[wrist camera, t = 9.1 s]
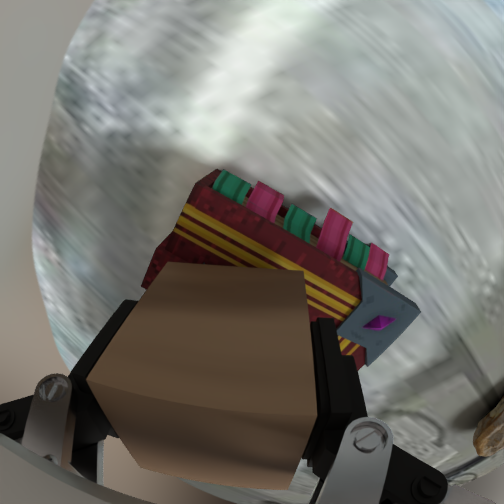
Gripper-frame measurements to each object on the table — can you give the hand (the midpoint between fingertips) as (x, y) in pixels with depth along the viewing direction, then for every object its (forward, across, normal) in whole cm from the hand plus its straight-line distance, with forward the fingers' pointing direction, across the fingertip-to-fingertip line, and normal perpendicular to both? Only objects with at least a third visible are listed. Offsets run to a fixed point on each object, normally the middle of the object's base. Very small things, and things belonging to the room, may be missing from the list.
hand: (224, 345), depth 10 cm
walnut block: (+2, 0, 0) cm, 2 cm away
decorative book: (+7, 0, +3) cm, 8 cm away
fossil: (+7, -32, +16) cm, 36 cm away
